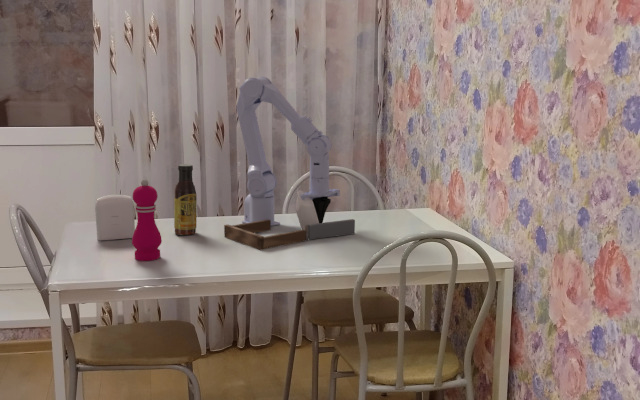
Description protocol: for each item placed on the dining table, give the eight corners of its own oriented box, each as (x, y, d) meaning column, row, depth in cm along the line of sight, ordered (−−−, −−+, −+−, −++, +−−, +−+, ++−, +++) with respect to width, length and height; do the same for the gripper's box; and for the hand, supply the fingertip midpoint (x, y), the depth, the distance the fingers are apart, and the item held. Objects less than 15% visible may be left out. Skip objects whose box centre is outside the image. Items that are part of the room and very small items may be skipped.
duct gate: (309, 239, 196) (310, 225, 195) (307, 238, 197) (307, 224, 196) (354, 233, 203) (354, 219, 202) (352, 232, 204) (352, 219, 203)
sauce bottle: (181, 237, 197) (179, 167, 194) (170, 233, 202) (168, 164, 198) (201, 233, 202) (200, 165, 198) (190, 229, 206) (188, 162, 202)
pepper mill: (137, 253, 181) (134, 176, 177) (165, 253, 181) (162, 177, 177) (129, 261, 174) (125, 181, 170) (158, 261, 174) (155, 182, 170)
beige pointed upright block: (307, 193, 199) (288, 196, 201) (317, 230, 203) (299, 233, 205) (311, 185, 204) (293, 188, 206) (321, 221, 209) (303, 224, 210)
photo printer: (97, 241, 192) (94, 197, 190) (96, 238, 196) (94, 194, 194) (135, 239, 195) (133, 195, 193) (134, 235, 199) (133, 192, 197)
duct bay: (224, 237, 198) (224, 222, 197) (272, 228, 209) (272, 214, 208) (260, 250, 185) (260, 234, 184) (309, 240, 196) (309, 225, 195)
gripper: (308, 181, 198) (308, 228, 201) (346, 176, 208) (346, 221, 210) (293, 178, 204) (293, 224, 206) (331, 173, 213) (330, 217, 216)
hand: (319, 222), depth 209 cm, fingers closed
